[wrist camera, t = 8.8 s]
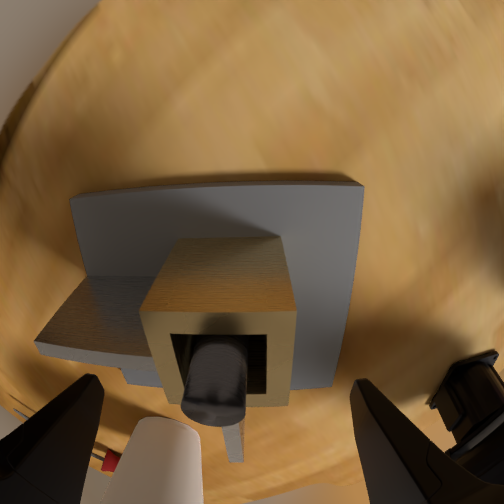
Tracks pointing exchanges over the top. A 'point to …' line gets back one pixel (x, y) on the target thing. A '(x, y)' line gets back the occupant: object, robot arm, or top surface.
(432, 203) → the top surface
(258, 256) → the hinge
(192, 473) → the foam cup
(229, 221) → the base plate
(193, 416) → the hinge pin
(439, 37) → the top surface
